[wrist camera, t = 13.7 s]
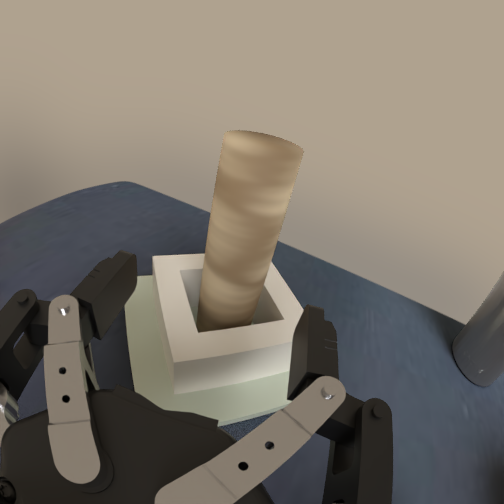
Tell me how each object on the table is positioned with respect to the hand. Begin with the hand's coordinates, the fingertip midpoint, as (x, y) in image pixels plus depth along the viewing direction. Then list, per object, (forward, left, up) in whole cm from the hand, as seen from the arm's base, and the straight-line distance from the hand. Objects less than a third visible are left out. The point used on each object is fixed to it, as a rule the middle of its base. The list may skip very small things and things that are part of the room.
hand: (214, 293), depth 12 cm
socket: (-4, -6, -11) cm, 13 cm away
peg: (-4, -5, -10) cm, 12 cm away
